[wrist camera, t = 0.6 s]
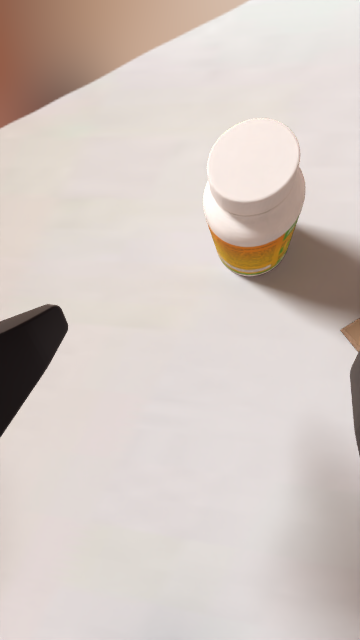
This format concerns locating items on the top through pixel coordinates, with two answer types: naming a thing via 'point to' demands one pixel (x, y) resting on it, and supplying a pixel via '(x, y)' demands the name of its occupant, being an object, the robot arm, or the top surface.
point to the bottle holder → (353, 333)
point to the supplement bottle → (253, 194)
